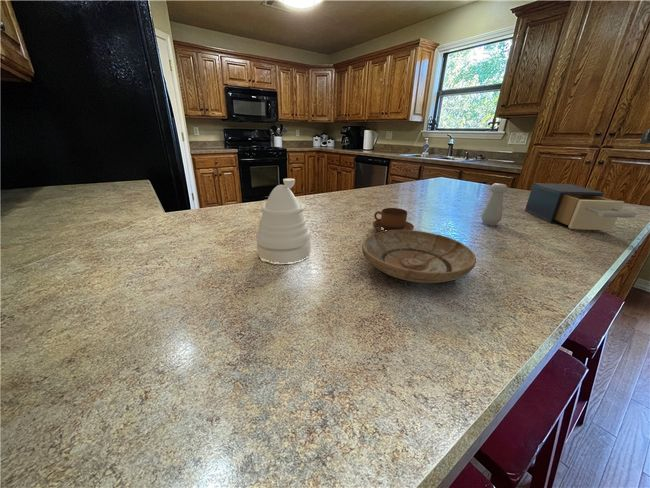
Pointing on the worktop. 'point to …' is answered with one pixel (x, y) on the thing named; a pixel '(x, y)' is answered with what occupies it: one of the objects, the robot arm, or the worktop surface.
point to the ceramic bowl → (418, 256)
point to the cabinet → (552, 198)
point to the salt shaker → (494, 205)
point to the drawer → (590, 212)
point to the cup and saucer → (392, 220)
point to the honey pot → (283, 227)
